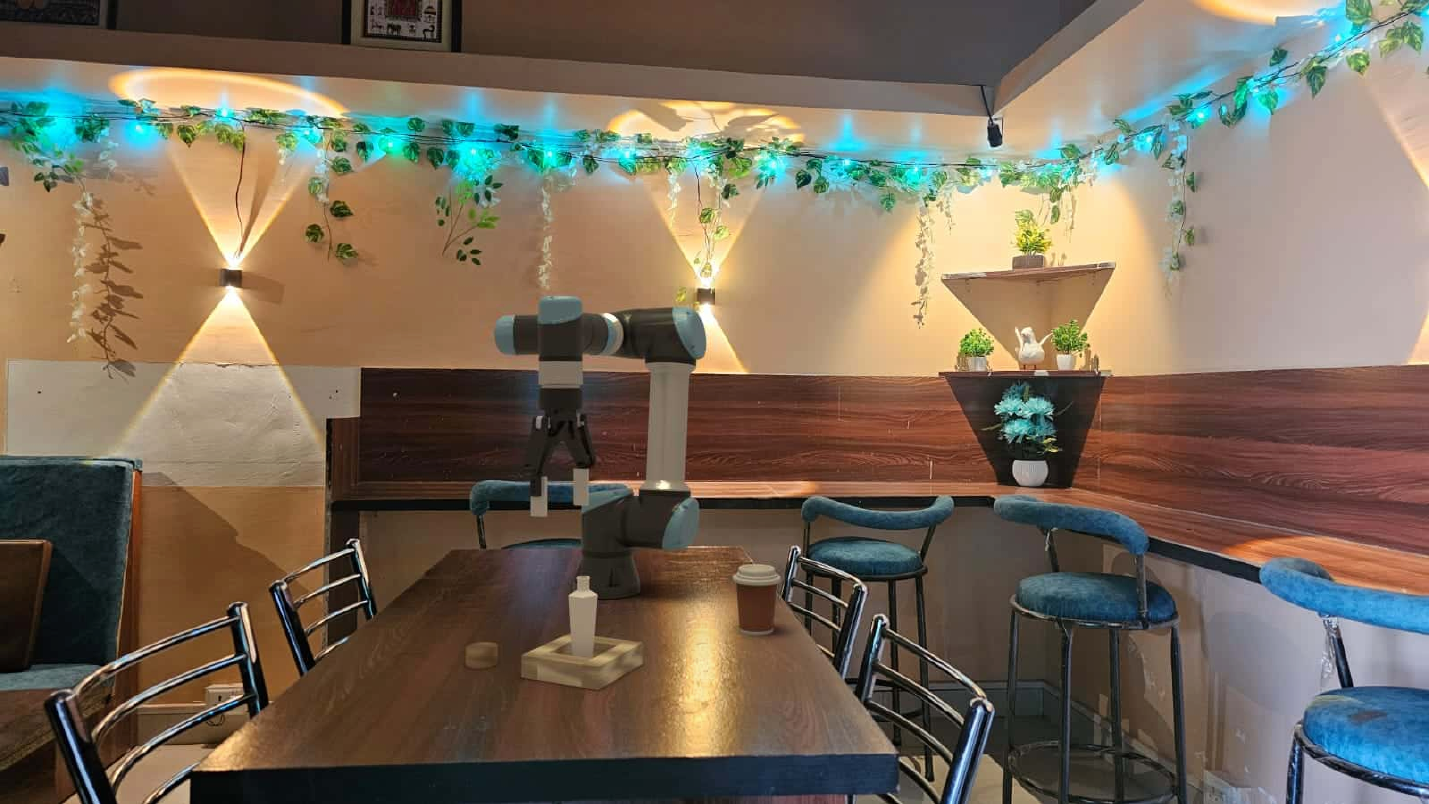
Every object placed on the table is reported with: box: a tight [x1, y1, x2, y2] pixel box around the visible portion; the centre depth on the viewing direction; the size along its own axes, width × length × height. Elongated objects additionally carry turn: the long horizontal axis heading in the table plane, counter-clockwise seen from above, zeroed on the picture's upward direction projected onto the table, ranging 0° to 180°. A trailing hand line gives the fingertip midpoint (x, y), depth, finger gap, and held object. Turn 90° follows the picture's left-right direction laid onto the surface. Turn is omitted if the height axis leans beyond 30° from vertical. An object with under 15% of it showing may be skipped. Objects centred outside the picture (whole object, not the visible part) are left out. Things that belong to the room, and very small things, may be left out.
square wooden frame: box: [520, 632, 644, 691], centre depth 136 cm, size 14×14×4 cm
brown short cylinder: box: [465, 641, 499, 670], centre depth 139 cm, size 5×5×3 cm
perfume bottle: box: [568, 576, 598, 659], centre depth 136 cm, size 5×4×15 cm
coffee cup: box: [732, 563, 782, 636], centre depth 160 cm, size 9×9×12 cm
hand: (561, 510), depth 145 cm, fingers open, 13 cm apart
